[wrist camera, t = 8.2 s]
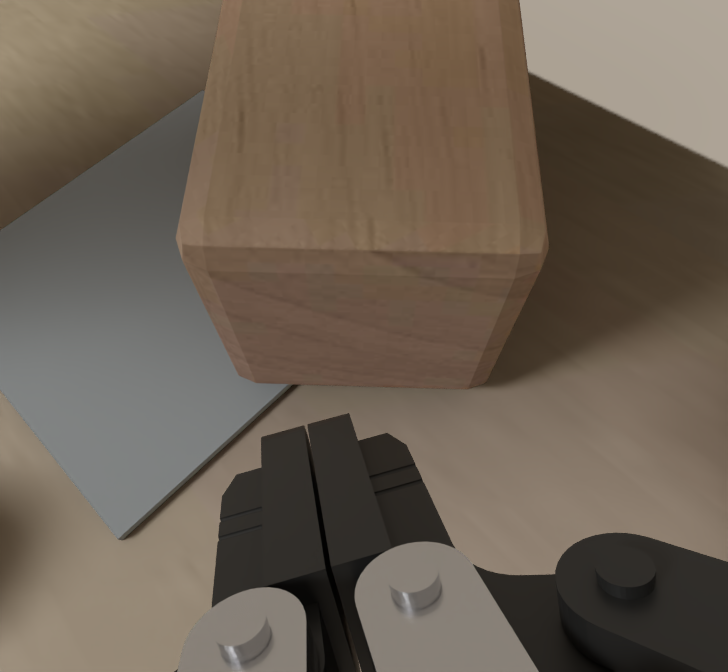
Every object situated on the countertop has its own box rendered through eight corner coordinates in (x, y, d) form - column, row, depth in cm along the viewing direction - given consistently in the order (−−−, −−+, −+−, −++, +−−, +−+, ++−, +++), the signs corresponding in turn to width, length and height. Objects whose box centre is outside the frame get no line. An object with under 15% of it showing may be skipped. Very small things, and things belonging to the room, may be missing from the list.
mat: (-76, 291, 27) (-82, 286, 27) (205, 95, 32) (203, 89, 31) (121, 540, 23) (117, 539, 22) (417, 270, 27) (418, 266, 27)
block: (157, 248, 15) (249, -182, 24) (235, 391, 24) (280, 41, 33) (564, 258, 15) (506, -178, 24) (489, 399, 24) (467, 45, 33)
